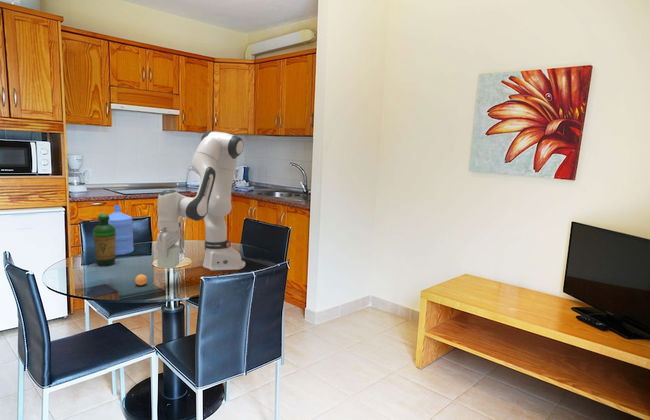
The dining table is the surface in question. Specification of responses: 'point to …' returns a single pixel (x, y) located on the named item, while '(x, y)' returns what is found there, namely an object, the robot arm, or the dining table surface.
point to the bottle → (104, 241)
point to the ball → (141, 279)
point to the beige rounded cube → (169, 258)
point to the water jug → (122, 231)
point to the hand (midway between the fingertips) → (168, 255)
